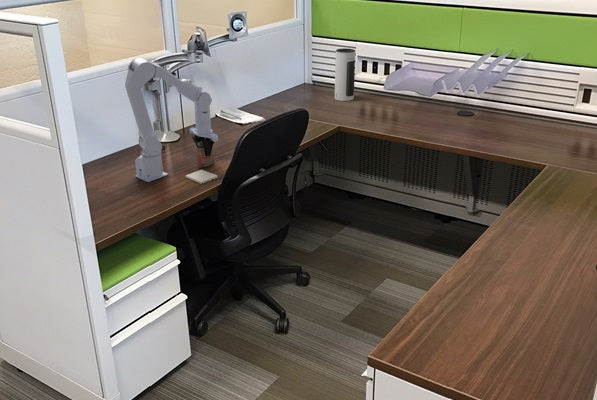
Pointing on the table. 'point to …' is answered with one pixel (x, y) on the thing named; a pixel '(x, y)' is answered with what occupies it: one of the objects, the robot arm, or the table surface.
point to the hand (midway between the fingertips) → (204, 154)
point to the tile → (201, 176)
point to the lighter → (203, 156)
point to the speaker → (344, 74)
